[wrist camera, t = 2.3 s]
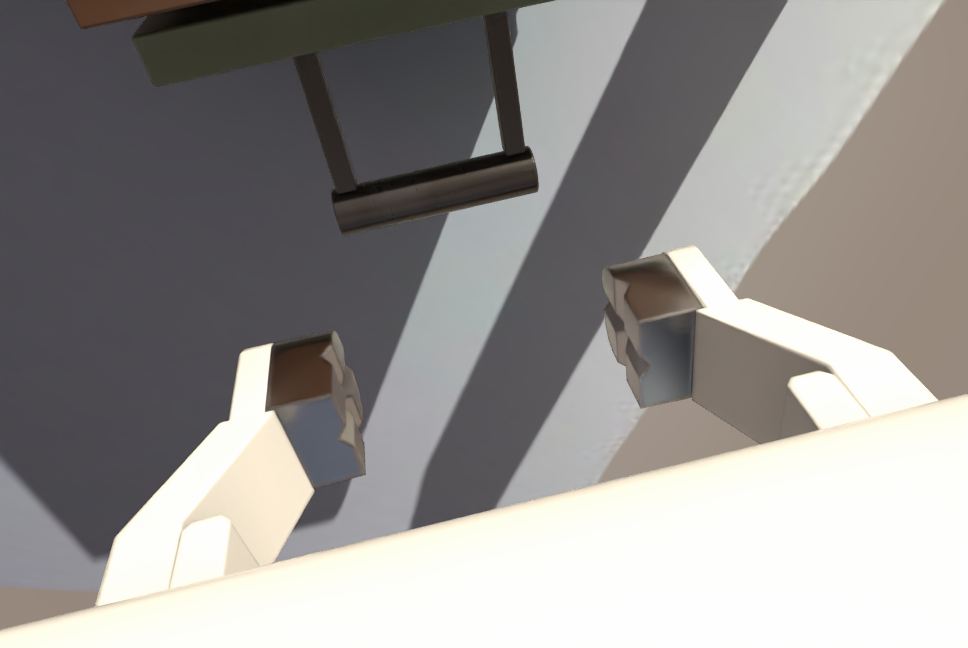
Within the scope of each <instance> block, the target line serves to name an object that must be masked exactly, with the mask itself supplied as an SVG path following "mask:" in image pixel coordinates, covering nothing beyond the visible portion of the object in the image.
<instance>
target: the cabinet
mask: <svg viewBox="0 0 968 648" xmlns="http://www.w3.org/2000/svg"><path fill="white" fill-rule="evenodd" d="M66 1H67V3H68V5H69V7H70V9H71V11H72V13H73V15H74V17H75V19H76V21H77V23H78V25H79V27H80V28H81V29H88V28H93V27H97V26H102V25H107V24H111V23H116V22H121V21H125V20H130V19H135V18H139V17H144V16H149V15H153V14H158V13H163V12H167V11H172V10H177V9H181V8H186V7H191V6H195V5H200V4H205V3H209V2H214V1H219V0H66Z"/></svg>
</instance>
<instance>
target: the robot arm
mask: <svg viewBox="0 0 968 648" xmlns="http://www.w3.org/2000/svg"><path fill="white" fill-rule="evenodd" d="M602 280H603V289H604V291H605V293H606V295H607V297H608V299H609V303H608V304H607V306H606V307H605V309H604V313H605V324H606V329H607V334H608V339H609V342H610V345H611V348H612V351H613V353H614V355H615V357H616V360H617V362H618V363H620V364H622V365H624V366H626V376H627V382H628V384H629V386H630V388H631V390H632V392H633V394H634V396H635V398H636V400H637V402H638V404H639V406H640V408H646V407H650V406H655V405H660V404H665V403H669V402H674V401H678V400H683V399H688V398H692V400H693V401H694V402H696V403H697V404H699V405H700V406H702V407H703V408H705V409H706V410H708V411H710V412H711V413H713V414H714V415H716V416H717V417H719V418H720V419H722V420H723V421H725V422H727V423H728V424H730V425H731V426H733V427H734V428H736V429H737V430H739V431H740V432H742V433H744V434H745V435H747V436H748V437H750V438H751V439H753V440H755V441H756V442H757V443H759V444H760V445H756V446H751V447H747V448H744V449H739V450H735V451H731V452H727V453H723V454H718V455H714V456H711V457H706V458H702V459H698V460H694V461H690V462H686V463H681V464H678V465H673V466H669V467H665V468H661V469H657V470H653V471H648V472H644V473H640V474H636V475H632V476H628V477H624V478H619V479H615V480H611V481H607V482H603V483H599V484H595V485H591V486H587V487H582V488H578V489H574V490H570V491H566V492H562V493H558V494H554V495H550V496H546V497H542V498H538V499H534V500H529V501H525V502H521V503H517V504H513V505H509V506H505V507H501V508H497V509H493V510H489V511H485V512H481V513H476V514H472V515H468V516H464V517H460V518H456V519H452V520H448V521H444V522H440V523H436V524H432V525H428V526H423V527H419V528H415V529H411V530H407V531H403V532H399V533H395V534H391V535H387V536H383V537H379V538H374V539H370V540H366V541H362V542H358V543H354V544H350V545H346V546H342V547H338V548H333V549H329V550H325V551H321V552H317V553H313V554H309V555H305V556H301V557H297V558H293V559H288V560H284V561H280V562H276V563H274V562H275V560H276V559H277V557H278V555H279V553H280V551H281V550H282V548H283V546H284V544H285V543H286V541H287V539H288V537H289V536H290V534H291V532H292V530H293V529H294V527H295V525H296V523H297V522H298V520H299V518H300V516H301V515H302V513H303V511H304V509H305V508H306V506H307V504H308V502H309V501H310V499H311V497H312V495H313V494H314V492H315V491H314V489H315V488H318V487H322V486H326V485H330V484H333V483H337V482H341V481H344V480H348V479H352V478H356V477H359V476H363V475H366V469H365V446H364V441H363V439H362V436H361V433H360V431H359V428H360V427H361V425H362V424H363V411H362V405H361V399H360V394H359V390H358V386H357V383H356V379H355V377H354V374H353V371H352V369H351V368H349V367H348V366H346V365H344V348H343V345H342V343H341V341H340V338H339V336H338V333H337V332H336V331H335V330H331V331H327V332H322V333H317V334H312V335H308V336H303V337H298V338H293V339H289V340H284V341H279V342H275V343H274V344H272V343H270V344H266V345H262V346H257V347H253V348H248V349H244V350H243V351H242V352H241V353H240V355H239V359H238V365H237V371H236V378H235V384H234V390H233V396H232V403H231V409H230V415H229V421H226V422H222V423H219V424H218V425H217V426H216V428H215V429H214V430H213V431H212V432H211V433H210V434H209V435H208V436H207V437H206V438H205V440H204V441H203V442H202V443H201V444H200V445H199V446H198V447H197V448H196V449H195V450H194V452H193V453H192V454H191V455H190V456H189V457H188V458H187V459H186V460H185V461H184V462H183V464H182V465H181V466H180V467H179V468H178V469H177V470H176V471H175V472H174V473H173V475H172V476H171V477H170V478H169V479H168V480H167V481H166V482H165V483H164V484H163V485H162V487H161V488H160V489H159V490H158V491H157V492H156V493H155V494H154V495H153V496H152V497H151V499H150V500H149V501H148V502H147V503H146V504H145V505H144V506H143V507H142V508H141V509H140V511H139V512H138V513H137V514H136V515H135V516H134V517H133V518H132V519H131V520H130V521H129V523H128V524H127V525H126V526H125V527H124V528H123V529H122V530H121V531H120V532H119V533H118V535H117V536H116V537H115V538H114V541H113V545H112V548H111V552H110V555H109V559H108V562H107V566H106V569H105V573H104V576H103V580H102V583H101V587H100V590H99V594H98V597H97V601H96V604H95V607H92V608H88V609H84V610H80V611H76V612H72V613H68V614H63V615H59V616H56V617H51V618H47V619H43V620H39V621H35V622H31V623H26V624H22V625H18V626H14V627H10V628H6V629H2V630H0V648H968V394H963V395H960V396H956V397H951V398H947V399H943V400H939V401H938V400H937V399H936V398H935V397H934V396H933V395H932V394H931V393H930V392H929V390H928V389H927V388H926V387H925V386H924V385H923V384H922V383H921V382H920V381H919V380H918V379H917V378H916V377H915V376H914V375H913V374H912V373H911V372H910V371H909V370H908V369H907V368H906V367H905V366H904V365H903V364H902V363H901V362H900V361H899V360H898V359H897V357H896V356H895V355H893V353H892V352H890V351H888V350H885V349H882V348H880V347H877V346H874V345H872V344H869V343H866V342H864V341H861V340H858V339H855V338H853V337H850V336H847V335H845V334H842V333H840V332H837V331H834V330H831V329H829V328H826V327H823V326H821V325H818V324H815V323H813V322H810V321H807V320H805V319H802V318H799V317H797V316H794V315H791V314H788V313H786V312H783V311H780V310H778V309H775V308H772V307H770V306H767V305H764V304H761V303H759V302H756V301H754V300H751V299H748V298H746V299H742V300H738V298H737V297H736V296H735V295H734V293H733V292H732V291H731V290H730V288H729V287H728V286H727V285H726V283H725V282H724V281H723V280H722V278H721V277H720V276H719V275H718V273H717V272H716V271H715V269H714V268H713V267H712V266H711V264H710V263H709V262H708V261H707V259H706V258H705V257H704V256H703V254H702V253H701V252H700V251H699V249H698V248H697V247H695V246H693V245H689V246H685V247H682V248H678V249H674V250H670V251H666V252H663V253H662V254H659V255H655V256H650V257H646V258H642V259H638V260H634V261H629V262H625V263H621V264H617V265H613V266H608V267H604V268H603V274H602Z"/></svg>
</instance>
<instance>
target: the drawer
mask: <svg viewBox="0 0 968 648" xmlns="http://www.w3.org/2000/svg"><path fill="white" fill-rule="evenodd" d="M550 1H554V0H219V1H214V2H209V3H205V4H200V5H195V6H191V7H186V8H181V9H177V10H172V11H167V12H163V13H158V14H153V15H149V16H147V17H146V19H145V20H144V21H143V23H142V24H141V25H140V27H139V28H138V29H137V31H136V32H135V33H134V35H133V36H132V41H133V43H134V45H135V47H136V49H137V51H138V54H139V56H140V58H141V60H142V62H143V64H144V66H145V69H146V71H147V73H148V75H149V77H150V79H151V82H152V84H153V85H154V86H155V87H160V86H164V85H169V84H174V83H178V82H183V81H187V80H192V79H196V78H201V77H206V76H210V75H215V74H219V73H224V72H229V71H233V70H238V69H242V68H247V67H251V66H256V65H261V64H265V63H270V62H274V61H279V60H284V59H288V58H293V60H294V63H295V66H296V69H297V72H298V75H299V79H300V82H301V85H302V88H303V91H304V94H305V97H306V100H307V103H308V106H309V109H310V112H311V115H312V118H313V121H314V124H315V127H316V130H317V134H318V137H319V140H320V143H321V146H322V149H323V152H324V155H325V158H326V161H327V164H328V167H329V170H330V173H331V176H332V179H333V182H334V185H335V189H333V190H332V191H331V198H332V204H333V209H334V213H335V216H336V220H337V223H338V226H339V229H340V231H341V233H342V234H343V236H347V235H351V234H356V233H360V232H364V231H369V230H373V229H378V228H382V227H386V226H391V225H395V224H400V223H404V222H408V221H413V220H417V219H421V218H426V217H430V216H435V215H439V214H443V213H448V212H452V211H457V210H461V209H465V208H470V207H474V206H479V205H483V204H487V203H492V202H496V201H500V200H505V199H509V198H514V197H518V196H522V195H527V194H531V193H536V192H537V191H538V188H539V182H538V174H537V168H536V164H535V160H534V156H533V153H532V151H531V149H530V147H529V146H525V143H524V136H523V128H522V120H521V112H520V104H519V97H518V89H517V81H516V73H515V65H514V58H513V50H512V42H511V34H510V26H509V18H508V10H513V9H517V8H522V7H527V6H531V5H536V4H540V3H545V2H550ZM481 16H483V23H484V29H485V36H486V43H487V49H488V56H489V63H490V69H491V76H492V83H493V89H494V96H495V103H496V109H497V116H498V122H499V129H500V136H501V142H502V148H503V150H504V151H502V152H497V153H493V154H488V155H484V156H479V157H475V158H471V159H466V160H462V161H457V162H453V163H448V164H444V165H439V166H435V167H431V168H426V169H422V170H417V171H413V172H408V173H404V174H400V175H395V176H391V177H386V178H382V179H377V180H373V181H369V182H364V183H360V184H357V180H356V177H355V174H354V170H353V167H352V164H351V160H350V157H349V154H348V150H347V147H346V144H345V141H344V137H343V134H342V131H341V127H340V124H339V121H338V117H337V114H336V111H335V108H334V104H333V101H332V98H331V94H330V91H329V88H328V85H327V81H326V78H325V75H324V71H323V68H322V65H321V61H320V58H319V55H318V52H320V51H325V50H329V49H334V48H339V47H343V46H348V45H352V44H357V43H362V42H366V41H371V40H375V39H380V38H384V37H389V36H394V35H398V34H403V33H407V32H412V31H417V30H421V29H426V28H430V27H435V26H440V25H444V24H449V23H453V22H458V21H462V20H467V19H472V18H476V17H481Z"/></svg>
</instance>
